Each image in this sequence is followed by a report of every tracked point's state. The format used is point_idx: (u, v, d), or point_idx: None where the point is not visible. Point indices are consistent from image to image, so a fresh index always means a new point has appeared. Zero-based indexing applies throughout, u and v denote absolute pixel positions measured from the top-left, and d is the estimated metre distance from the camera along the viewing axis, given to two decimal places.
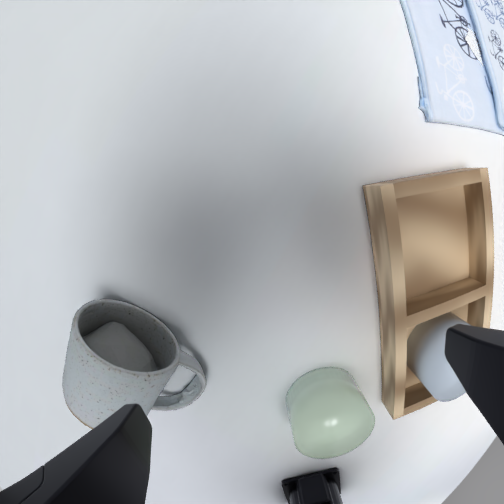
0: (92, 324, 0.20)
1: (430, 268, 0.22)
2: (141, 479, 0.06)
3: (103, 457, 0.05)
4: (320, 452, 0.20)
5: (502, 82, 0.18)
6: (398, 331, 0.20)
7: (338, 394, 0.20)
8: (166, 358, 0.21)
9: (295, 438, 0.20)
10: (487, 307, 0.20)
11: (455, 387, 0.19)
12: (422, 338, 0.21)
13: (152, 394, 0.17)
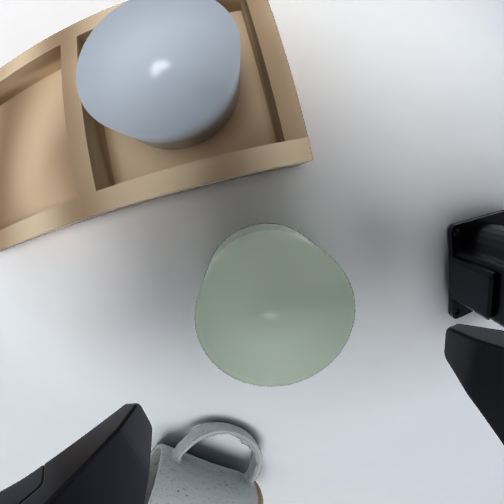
0: None
1: (58, 139, 0.14)
2: (140, 479, 0.06)
3: (103, 457, 0.05)
4: (329, 338, 0.12)
5: None
6: (100, 206, 0.12)
7: None
8: (183, 459, 0.17)
9: (276, 384, 0.12)
10: (97, 20, 0.10)
11: (200, 50, 0.09)
12: None
13: None
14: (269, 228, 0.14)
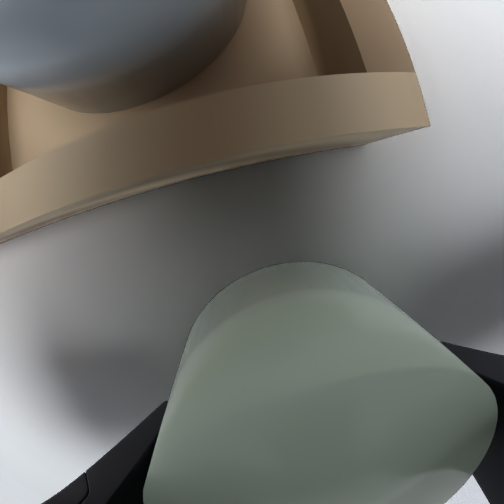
0: None
1: None
2: None
3: (151, 458, 0.05)
4: None
5: None
6: None
7: None
8: None
9: None
10: None
11: None
12: None
13: None
14: (318, 286, 0.06)
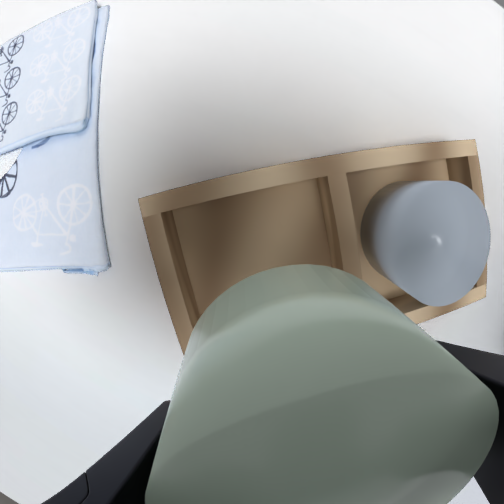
0: None
1: (297, 261, 0.18)
2: None
3: (152, 458, 0.05)
4: None
5: (29, 121, 0.15)
6: None
7: None
8: None
9: None
10: (366, 161, 0.15)
11: (473, 247, 0.13)
12: None
13: None
14: (320, 289, 0.06)
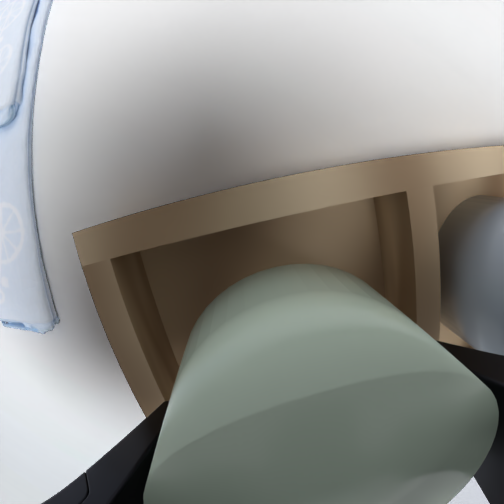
0: None
1: None
2: None
3: (151, 458, 0.05)
4: None
5: None
6: None
7: None
8: None
9: None
10: (459, 168, 0.08)
11: None
12: (465, 341, 0.10)
13: None
14: (319, 288, 0.06)
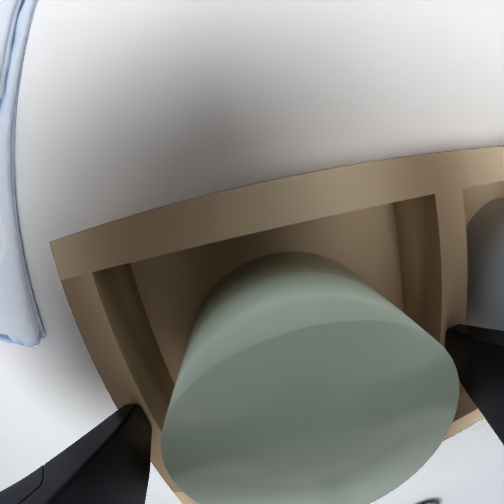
0: None
1: None
2: (140, 479, 0.06)
3: (103, 457, 0.05)
4: (405, 463, 0.05)
5: None
6: (446, 435, 0.08)
7: None
8: None
9: None
10: (488, 168, 0.06)
11: None
12: None
13: None
14: (304, 268, 0.07)
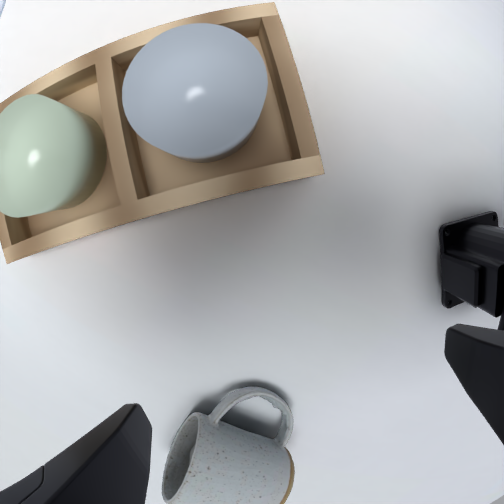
0: None
1: None
2: (140, 478, 0.06)
3: (103, 457, 0.05)
4: (50, 166, 0.12)
5: None
6: (141, 213, 0.15)
7: None
8: None
9: (21, 215, 0.12)
10: (130, 43, 0.13)
11: (234, 82, 0.12)
12: (169, 153, 0.15)
13: (224, 467, 0.15)
14: None
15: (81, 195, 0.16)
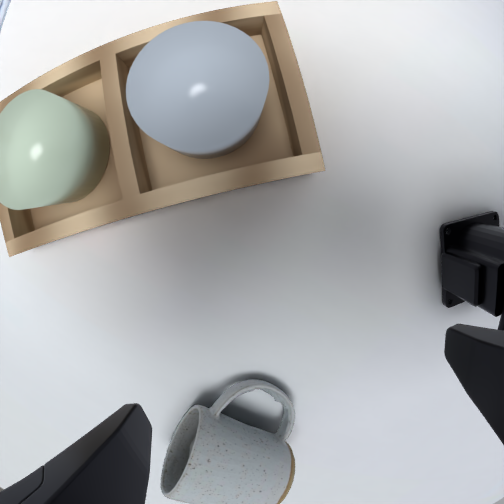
0: None
1: None
2: (140, 479, 0.06)
3: (103, 457, 0.05)
4: (50, 161, 0.12)
5: None
6: (143, 207, 0.15)
7: None
8: None
9: (20, 208, 0.12)
10: (135, 40, 0.13)
11: (236, 79, 0.12)
12: None
13: (224, 460, 0.16)
14: None
15: (82, 190, 0.16)
